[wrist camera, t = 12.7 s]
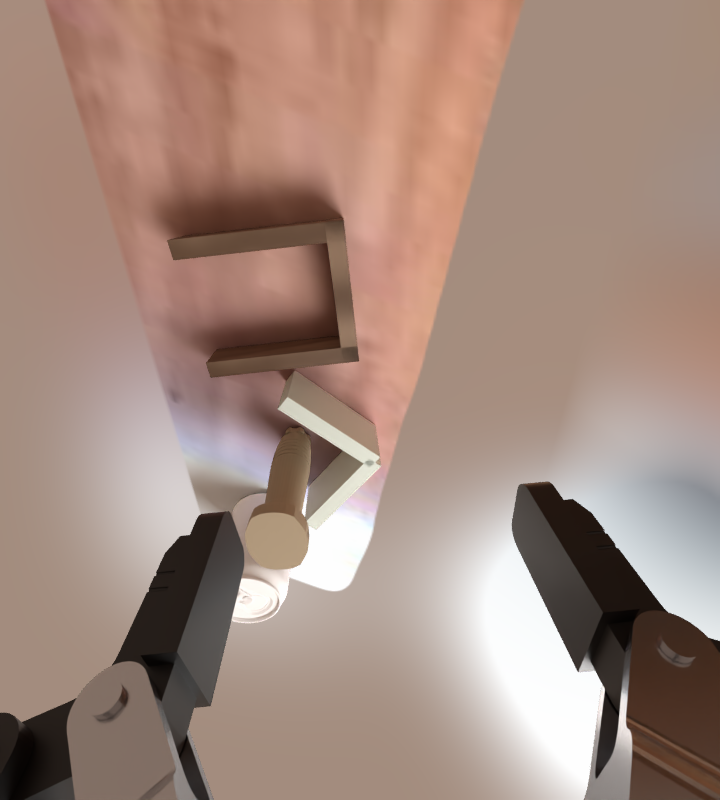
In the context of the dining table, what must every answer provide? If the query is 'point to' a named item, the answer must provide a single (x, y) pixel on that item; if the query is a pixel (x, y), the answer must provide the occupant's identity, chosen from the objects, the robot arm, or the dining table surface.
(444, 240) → the dining table surface
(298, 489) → the handle
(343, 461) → the cream l-shaped bracket
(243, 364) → the u-shaped bracket
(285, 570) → the beverage can
